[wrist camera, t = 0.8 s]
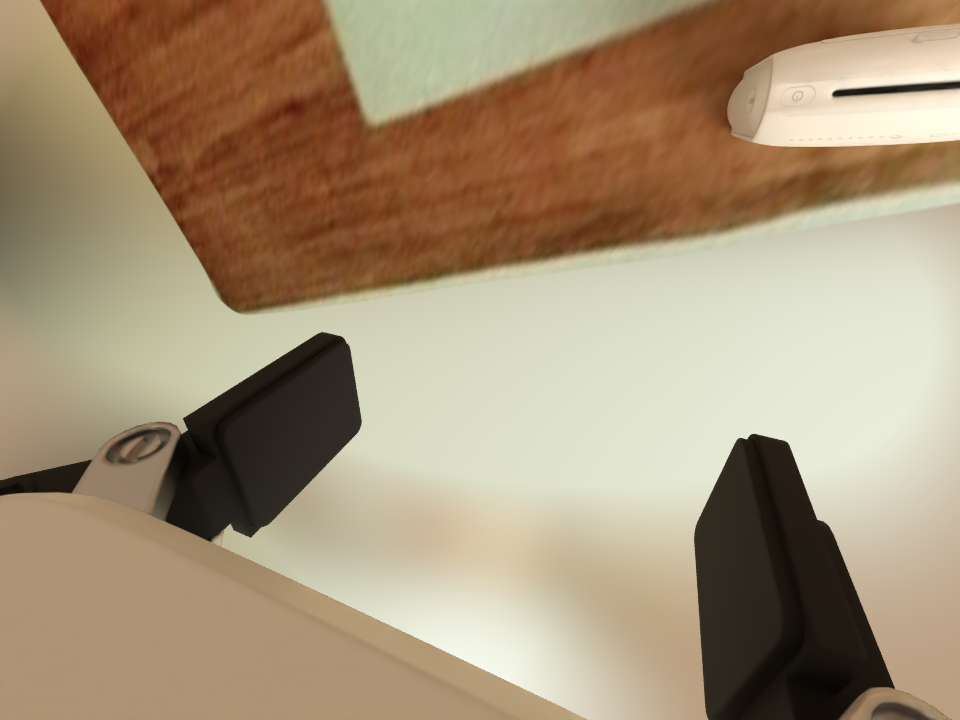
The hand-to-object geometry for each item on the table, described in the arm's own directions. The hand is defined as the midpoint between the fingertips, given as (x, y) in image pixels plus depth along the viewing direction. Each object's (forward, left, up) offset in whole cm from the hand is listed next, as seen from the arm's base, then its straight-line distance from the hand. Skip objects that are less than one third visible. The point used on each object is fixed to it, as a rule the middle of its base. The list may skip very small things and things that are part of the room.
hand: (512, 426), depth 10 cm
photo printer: (-13, +1, -29) cm, 32 cm away
